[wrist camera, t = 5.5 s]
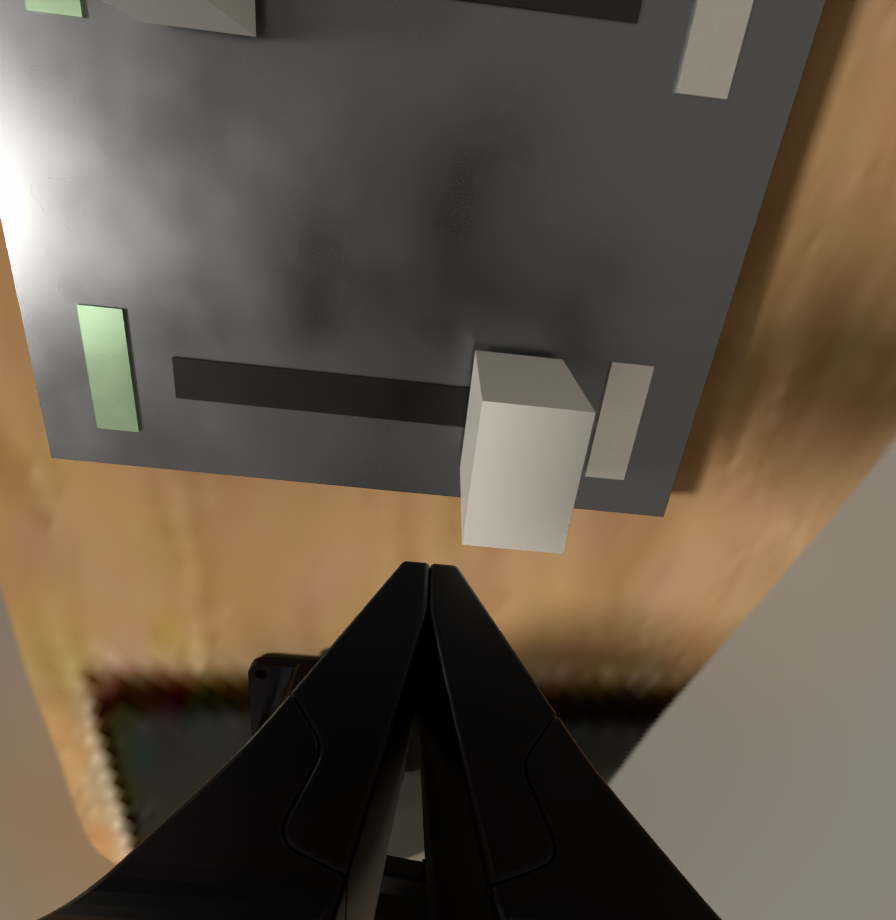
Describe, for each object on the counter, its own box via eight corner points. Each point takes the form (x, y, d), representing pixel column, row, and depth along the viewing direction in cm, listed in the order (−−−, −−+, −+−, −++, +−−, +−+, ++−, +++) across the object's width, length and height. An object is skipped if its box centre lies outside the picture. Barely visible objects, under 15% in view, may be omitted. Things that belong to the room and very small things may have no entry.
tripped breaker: (539, 476, 17) (562, 554, 14) (459, 468, 17) (462, 544, 14) (562, 359, 16) (595, 412, 12) (475, 350, 16) (482, 400, 12)
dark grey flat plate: (648, 493, 20) (664, 518, 18) (79, 438, 19) (49, 459, 17) (835, -136, 13) (883, -176, 11) (-50, -265, 12) (-119, -326, 11)
